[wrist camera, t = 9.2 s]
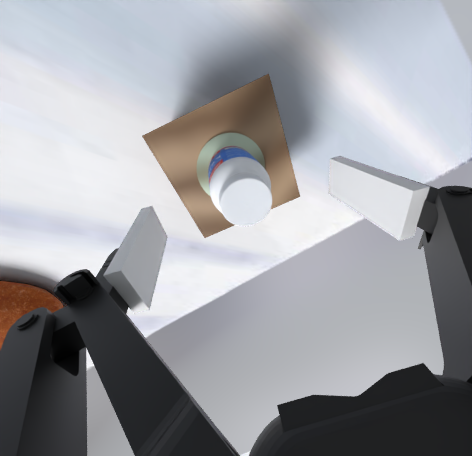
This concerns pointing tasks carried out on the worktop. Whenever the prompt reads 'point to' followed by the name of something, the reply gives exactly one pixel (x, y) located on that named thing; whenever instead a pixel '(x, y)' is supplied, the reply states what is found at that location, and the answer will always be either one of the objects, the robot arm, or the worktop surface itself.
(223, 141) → the small wooden table
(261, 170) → the pill bottle
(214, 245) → the worktop surface
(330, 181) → the robot arm
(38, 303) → the bread
